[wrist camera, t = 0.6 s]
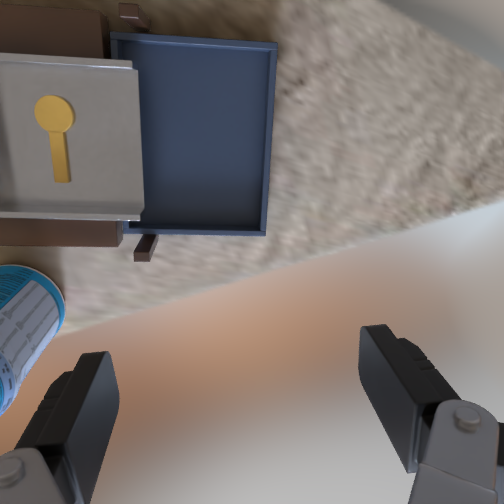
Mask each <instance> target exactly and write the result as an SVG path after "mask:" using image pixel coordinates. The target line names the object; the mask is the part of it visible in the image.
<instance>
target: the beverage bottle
mask: <svg viewBox="0 0 504 504" xmlns="http://www.w3.org/2000/svg"><path fill="white" fill-rule="evenodd" d="M64 318H65V302H64V298H63V296H62V293H61V291H60V290H59V288H58V287H57V285H56V284H55V283H54V282H53V281H52V280H51V279H50V278H49V277H47V276H46V275H44V274H43V273H41V272H39V271H38V270H35V269H33V268H30V267H27V266H22V265H1V266H0V416H1V415H2V414H3V413H4V412H5V411H6V410H7V408H8V407H9V406H10V405H11V403H12V402H13V400H14V399H15V397H16V395H17V393H18V391H19V388H20V385H21V383H22V381H23V380H24V379H25V377H26V376H27V374H28V373H29V371H30V369H31V368H32V366H33V365H34V363H35V362H36V361H37V359H38V358H39V356H40V355H41V353H42V352H43V350H44V349H45V347H46V346H47V345H48V343H49V342H50V341H51V339H52V338H53V337H54V336H55V334H56V333H57V332H58V330H59V329H60V327H61V326H62V324H63V321H64Z"/></svg>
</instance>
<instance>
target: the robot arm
mask: <svg viewBox="0 0 504 504" xmlns="http://www.w3.org/2000/svg"><path fill="white" fill-rule="evenodd" d="M358 365H359V366H358V369H359V376H360V380H361V383H362V386H363V388H364V390H365V392H366V394H367V396H368V398H369V400H370V402H371V403H372V406H373V407H374V409H375V411H376V413H377V415H378V417H379V419H380V421H381V423H382V425H383V427H384V429H385V431H386V433H387V435H388V436H389V438H390V441H391V442H392V444H393V446H394V448H395V450H396V452H397V454H398V456H399V458H400V460H401V462H402V464H403V466H404V468H405V470H406V472H407V473H415V472H417V473H416V476H415V480H414V484H413V487H412V491H411V494H410V498H409V502H408V504H504V423H500V422H497V420H496V419H495V417H494V416H493V415H492V414H491V413H489V412H488V411H487V410H486V409H484V408H482V407H481V406H479V405H477V404H475V403H472V402H468V401H465V400H462V399H461V398H460V397H459V396H458V395H457V393H456V392H455V391H454V390H453V388H452V387H451V386H450V385H449V384H448V382H447V381H446V380H445V379H444V378H443V376H442V375H441V374H440V373H439V371H438V370H437V369H435V367H434V365H433V364H432V363H431V362H430V360H427V357H426V356H425V355H424V353H423V352H422V351H421V349H420V348H419V347H418V346H416V345H414V344H413V343H411V342H410V341H408V340H407V339H405V338H399V339H397V338H396V337H395V335H394V334H393V333H392V331H391V330H390V329H389V327H388V326H387V325H386V324H381V325H372V326H362V327H361V330H360V344H359V364H358ZM118 409H119V390H118V385H117V381H116V376H115V372H114V368H113V364H112V359H111V355H110V353H109V352H108V351H103V352H93V353H84V354H82V355H81V356H80V358H79V361H78V362H77V364H76V366H75V368H74V370H73V371H68V372H64V373H63V374H62V375H61V376H60V377H59V378H58V379H56V380H55V381H54V382H53V383H52V384H51V385H50V387H49V389H48V391H47V393H46V394H45V396H44V400H42V401H41V403H40V405H39V406H38V410H37V411H36V412H35V413H34V415H33V417H32V419H31V420H30V422H29V424H28V426H27V427H26V429H25V431H24V433H23V434H22V436H21V438H20V440H19V441H18V443H17V445H16V447H15V448H14V450H12V451H9V452H7V453H5V454H3V455H1V456H0V504H90V501H91V498H92V494H93V491H94V488H95V485H96V482H97V478H98V475H99V472H100V469H101V465H102V462H103V459H104V456H105V452H106V449H107V446H108V442H109V439H110V436H111V433H112V429H113V426H114V423H115V420H116V417H117V414H118Z"/></svg>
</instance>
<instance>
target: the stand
mask: <svg viewBox="0 0 504 504" xmlns="http://www.w3.org/2000/svg"><path fill="white" fill-rule="evenodd" d="M119 16H120V17H121V18H122V19H123V20H124V21H125V22H126V23H127V24H129V25H130V26H131V27H132V28H133V29H134V30H137V31H150V30H151V26H150V19H149V18H148V17H147V15H146V14H145V13H144V12H143V10H142V9H141V8H140V7H139V5H138V4H128V3H119ZM0 52H1V53H17V54H34V55H50V56H67V57H83V58H100V59H110V50H109V35H108V21H107V16H105V15H104V14H103V13H102V12H100V11H94V10H80V9H66V8H52V7H38V6H24V5H10V4H0ZM122 240H123V237H122V222H121V221H119V220H73V219H27V218H0V246H61V247H118V246H119V244H120V243H121V241H122ZM157 242H158V234H143V236H142V238H141V240H140V241H139V243H138V245H137V247H136V249H135V251H134V262H150V260H151V257H152V255H153V252H154V250H155V247H156V245H157Z"/></svg>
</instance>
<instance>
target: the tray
mask: <svg viewBox="0 0 504 504" xmlns="http://www.w3.org/2000/svg"><path fill="white" fill-rule="evenodd" d="M110 39H111V40H110V45H111V59H117V60H132V61H134V62H136V63H138V64H139V80H140V101H141V122H142V144H143V165H144V187H145V208H146V213H145V214H144V216H143V217H142V219H141V221H123V233H124V234H166V235H219V236H266V222H267V206H268V191H269V175H270V159H271V143H272V128H273V112H274V96H275V80H276V65H277V49H278V43H277V42H263V41H248V40H233V39H218V38H203V37H188V36H173V35H158V34H143V33H128V32H113V31H110Z"/></svg>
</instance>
